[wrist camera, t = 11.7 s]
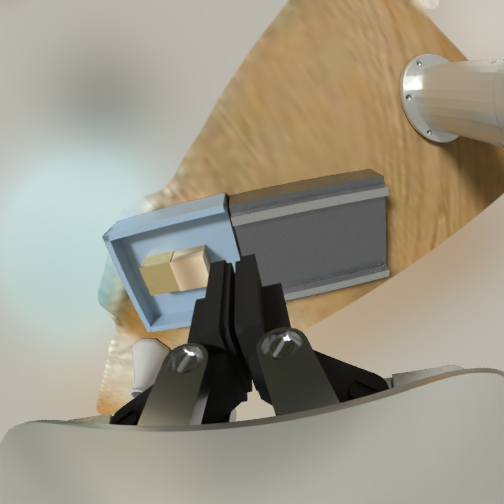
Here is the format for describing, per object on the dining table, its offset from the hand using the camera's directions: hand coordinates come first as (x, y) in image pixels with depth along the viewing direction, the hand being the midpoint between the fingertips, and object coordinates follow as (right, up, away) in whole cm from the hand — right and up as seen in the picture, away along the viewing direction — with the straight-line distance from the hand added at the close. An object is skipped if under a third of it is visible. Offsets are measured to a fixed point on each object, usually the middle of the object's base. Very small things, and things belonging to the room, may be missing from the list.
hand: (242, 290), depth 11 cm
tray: (-9, +1, +28) cm, 29 cm away
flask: (-17, -16, +36) cm, 42 cm away
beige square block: (-7, 0, +25) cm, 26 cm away
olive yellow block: (-11, -1, +25) cm, 27 cm away
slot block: (+8, +4, +26) cm, 28 cm away
